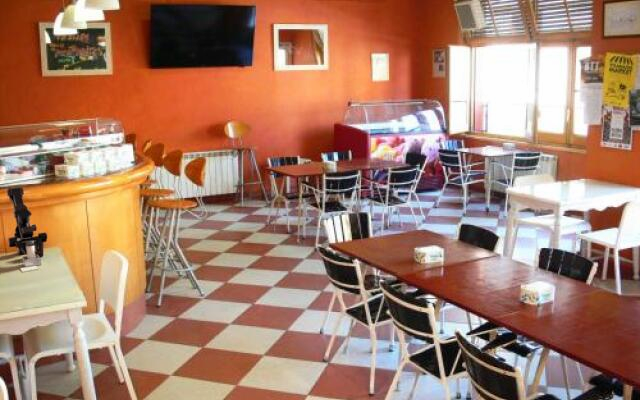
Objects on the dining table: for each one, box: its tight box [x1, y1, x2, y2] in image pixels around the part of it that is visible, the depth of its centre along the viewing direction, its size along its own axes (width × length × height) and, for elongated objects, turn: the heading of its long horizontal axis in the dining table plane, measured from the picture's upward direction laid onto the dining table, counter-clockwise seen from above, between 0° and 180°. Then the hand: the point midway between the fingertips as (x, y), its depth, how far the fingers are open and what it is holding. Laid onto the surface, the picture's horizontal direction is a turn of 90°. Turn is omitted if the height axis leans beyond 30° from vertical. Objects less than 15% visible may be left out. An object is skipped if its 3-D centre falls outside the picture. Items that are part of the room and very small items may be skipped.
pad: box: [19, 266, 39, 273], centre depth 340 cm, size 8×8×1 cm
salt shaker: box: [25, 241, 36, 259], centre depth 347 cm, size 4×4×12 cm
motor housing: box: [21, 254, 42, 267], centre depth 348 cm, size 8×8×4 cm
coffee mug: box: [23, 240, 45, 258], centre depth 362 cm, size 12×9×10 cm
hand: (31, 253), depth 346 cm, fingers open, 5 cm apart
